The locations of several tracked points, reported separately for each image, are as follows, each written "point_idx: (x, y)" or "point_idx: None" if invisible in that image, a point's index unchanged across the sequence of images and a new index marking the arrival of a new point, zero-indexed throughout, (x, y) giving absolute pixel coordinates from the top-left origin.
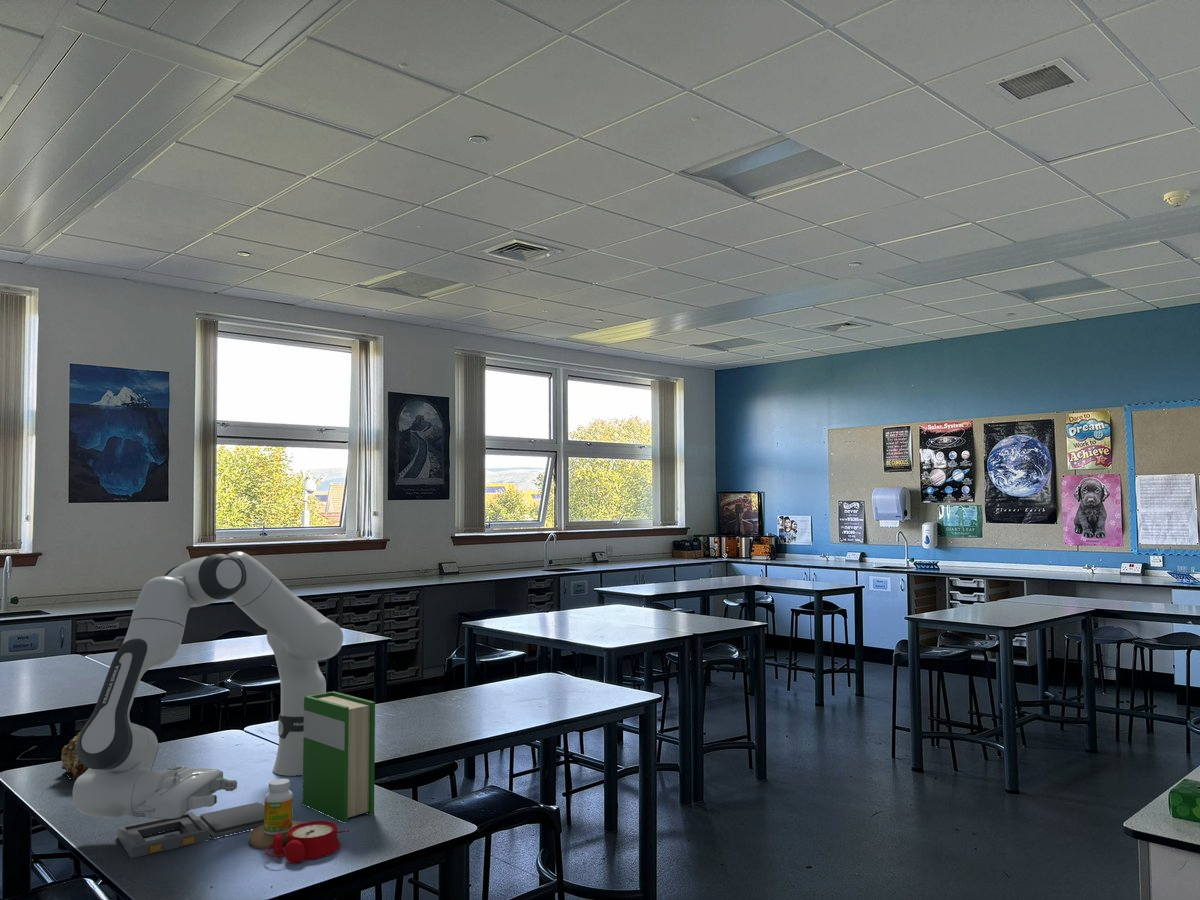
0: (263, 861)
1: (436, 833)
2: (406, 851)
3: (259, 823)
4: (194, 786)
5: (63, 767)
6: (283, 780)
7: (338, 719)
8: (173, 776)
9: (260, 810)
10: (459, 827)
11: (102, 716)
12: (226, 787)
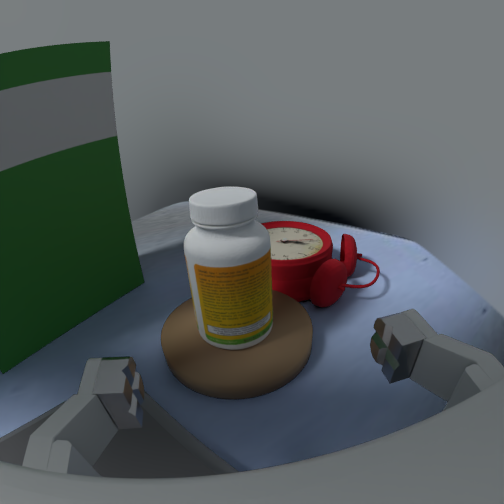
0: (366, 306)
1: None
2: (261, 211)
3: (147, 410)
4: (399, 467)
5: None
6: (210, 193)
7: (86, 72)
8: None
9: None
10: (180, 205)
11: None
12: (132, 411)
